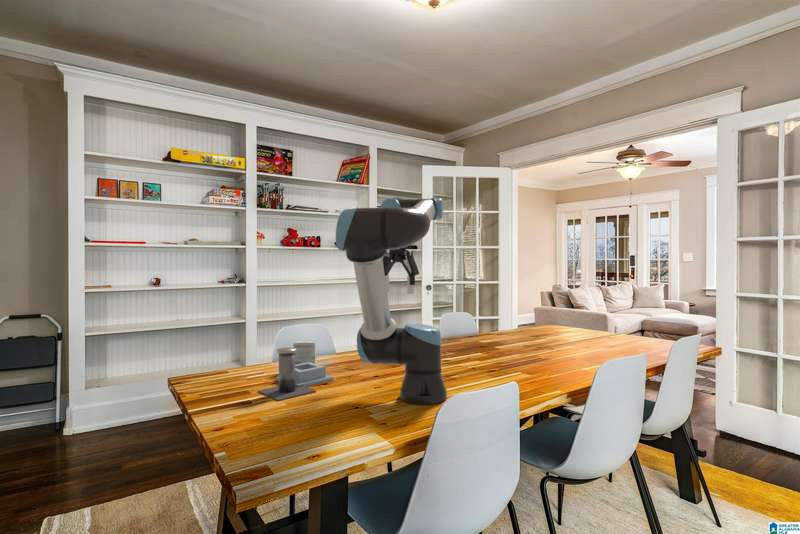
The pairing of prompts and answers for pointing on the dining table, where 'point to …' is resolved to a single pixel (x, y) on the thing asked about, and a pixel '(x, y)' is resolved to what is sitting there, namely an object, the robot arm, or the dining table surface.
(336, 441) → the dining table surface
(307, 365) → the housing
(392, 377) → the dining table surface
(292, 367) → the grey capped cylinder
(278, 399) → the mat
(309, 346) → the ink box
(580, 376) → the dining table surface
